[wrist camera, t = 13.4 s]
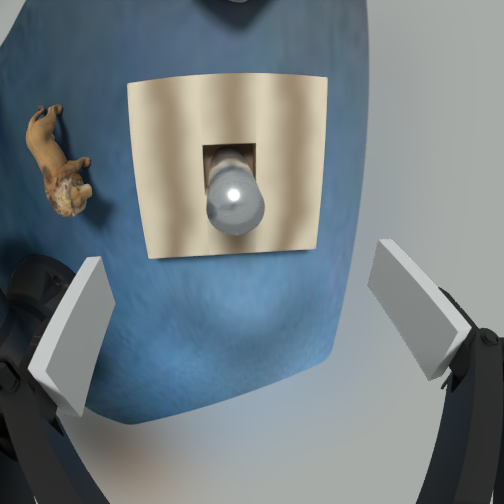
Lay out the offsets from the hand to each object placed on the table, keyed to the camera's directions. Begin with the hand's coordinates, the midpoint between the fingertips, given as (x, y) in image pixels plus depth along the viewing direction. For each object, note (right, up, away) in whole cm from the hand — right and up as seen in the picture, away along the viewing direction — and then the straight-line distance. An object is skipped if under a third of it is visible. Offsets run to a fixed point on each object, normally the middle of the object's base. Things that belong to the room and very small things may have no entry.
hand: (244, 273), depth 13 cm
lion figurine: (-21, +14, +16) cm, 30 cm away
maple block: (-2, +11, +20) cm, 23 cm away
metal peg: (-2, +11, +19) cm, 22 cm away
